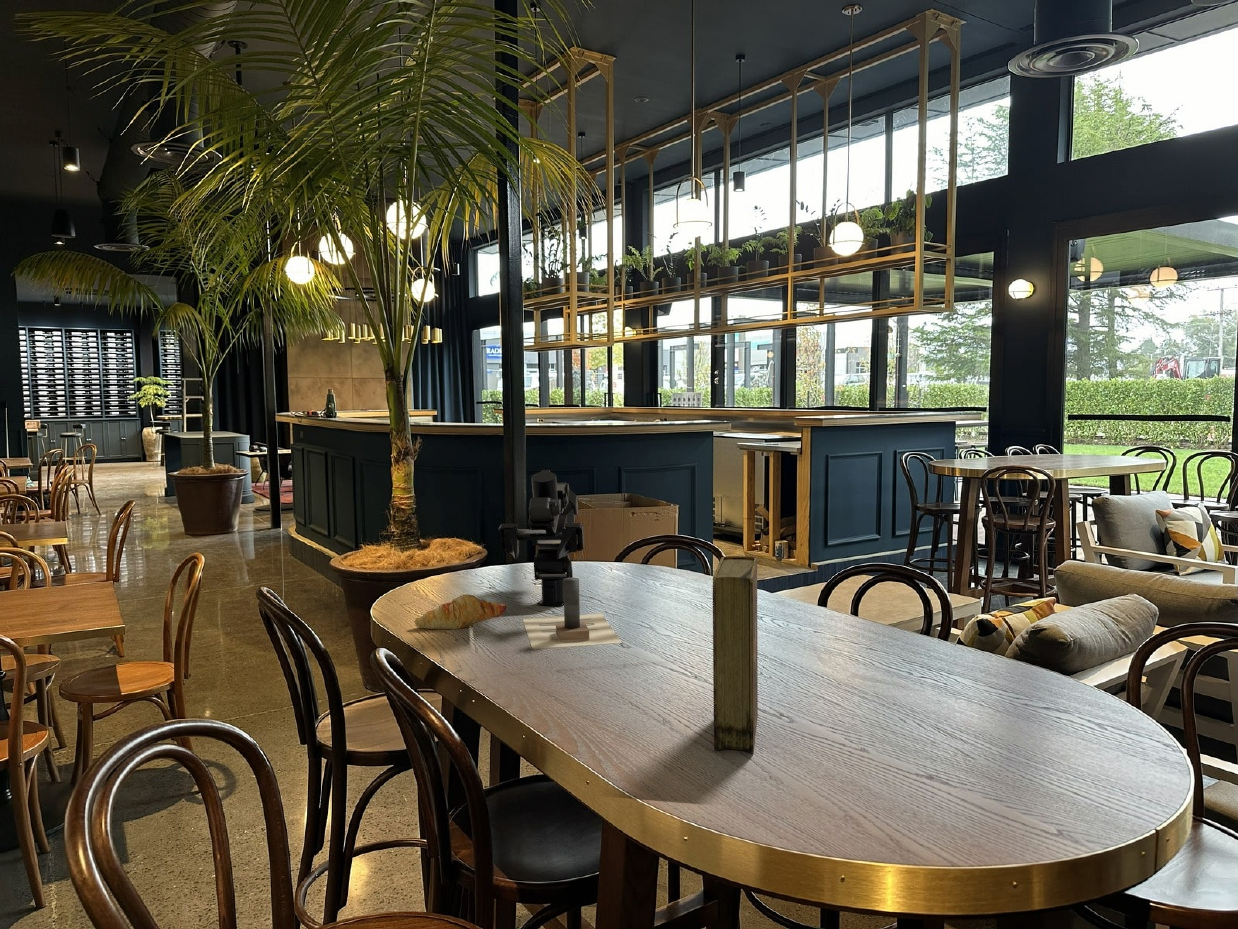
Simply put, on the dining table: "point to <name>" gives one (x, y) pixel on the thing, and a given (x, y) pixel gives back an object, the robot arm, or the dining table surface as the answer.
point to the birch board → (546, 637)
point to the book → (735, 653)
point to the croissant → (460, 613)
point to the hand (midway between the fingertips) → (536, 557)
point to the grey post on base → (571, 614)
